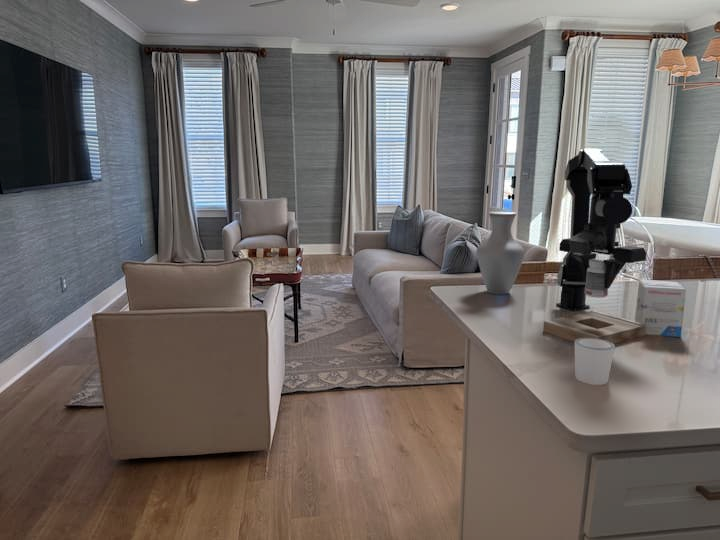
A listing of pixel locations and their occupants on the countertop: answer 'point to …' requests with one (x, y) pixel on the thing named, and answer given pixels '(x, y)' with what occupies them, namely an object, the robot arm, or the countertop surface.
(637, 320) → the ink box
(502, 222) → the vase
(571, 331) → the walnut jig
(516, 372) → the countertop surface
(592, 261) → the pill bottle
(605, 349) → the white short tapered cylinder
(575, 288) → the robot arm
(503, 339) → the countertop surface
